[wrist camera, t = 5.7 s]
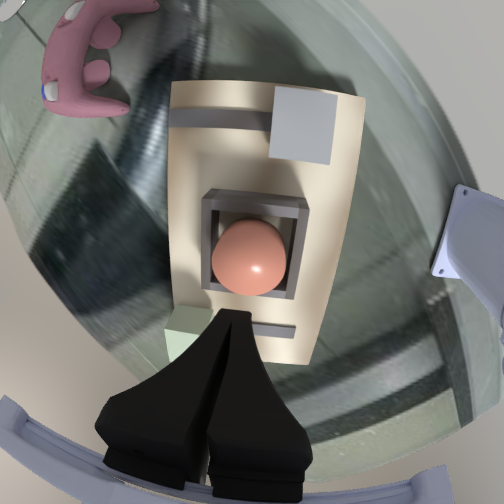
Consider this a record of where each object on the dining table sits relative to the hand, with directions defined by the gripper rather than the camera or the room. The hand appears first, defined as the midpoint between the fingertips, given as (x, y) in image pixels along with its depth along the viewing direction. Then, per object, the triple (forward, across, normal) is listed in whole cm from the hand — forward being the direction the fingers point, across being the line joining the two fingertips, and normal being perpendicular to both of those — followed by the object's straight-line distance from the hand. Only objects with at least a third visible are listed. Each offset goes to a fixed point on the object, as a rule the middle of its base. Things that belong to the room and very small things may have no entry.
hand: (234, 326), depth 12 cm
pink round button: (+6, 0, -1) cm, 6 cm away
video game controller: (+10, +11, -14) cm, 21 cm away
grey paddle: (+7, -2, -8) cm, 11 cm away
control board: (+9, 0, 0) cm, 9 cm away
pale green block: (+7, +4, +7) cm, 11 cm away
